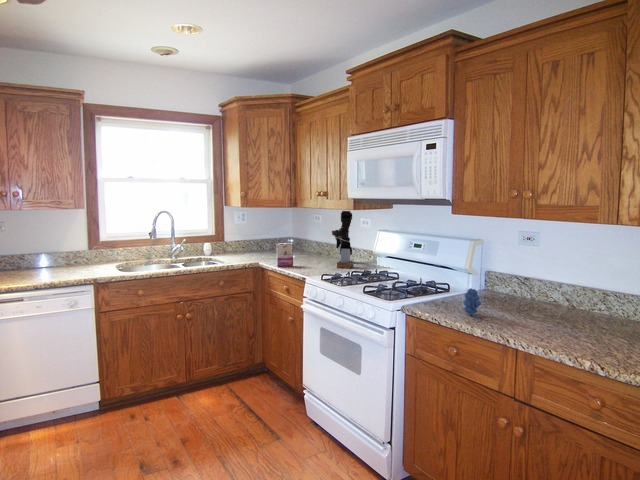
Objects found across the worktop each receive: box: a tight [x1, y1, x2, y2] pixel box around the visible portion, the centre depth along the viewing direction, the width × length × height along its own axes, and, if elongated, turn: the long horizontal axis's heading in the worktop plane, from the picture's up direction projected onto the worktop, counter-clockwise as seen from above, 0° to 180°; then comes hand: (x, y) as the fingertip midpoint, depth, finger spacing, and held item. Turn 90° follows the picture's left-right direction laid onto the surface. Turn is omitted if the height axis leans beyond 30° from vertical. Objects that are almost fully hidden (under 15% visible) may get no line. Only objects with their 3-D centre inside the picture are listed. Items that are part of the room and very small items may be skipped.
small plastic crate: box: [340, 249, 351, 263], centre depth 312 cm, size 5×5×12 cm
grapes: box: [462, 288, 482, 316], centre depth 189 cm, size 12×7×12 cm, turn 135°
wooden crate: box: [336, 260, 355, 270], centre depth 312 cm, size 9×9×4 cm
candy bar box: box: [276, 242, 294, 268], centre depth 314 cm, size 11×5×16 cm, turn 105°
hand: (338, 248), depth 323 cm, fingers open, 9 cm apart
